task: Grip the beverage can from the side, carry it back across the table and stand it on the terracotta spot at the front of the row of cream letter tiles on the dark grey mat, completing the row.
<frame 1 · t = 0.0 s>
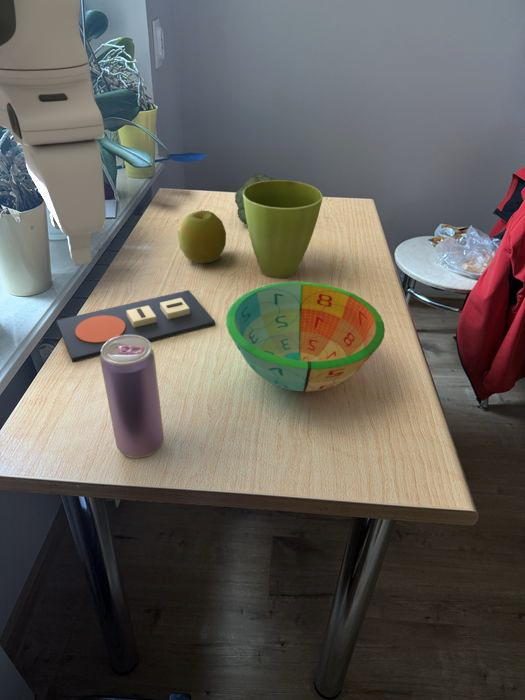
hand: (71, 242, 55), 26 cm above the table, tool pointing down, fingers open, 8 cm apart
bowl: (300, 375, 81), on the table
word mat: (136, 324, 90), on the table
flower pot: (278, 271, 108), on the table
apple: (203, 260, 111), on the table
vegetable: (258, 222, 128), on the table
beverage can: (140, 444, 68), on the table
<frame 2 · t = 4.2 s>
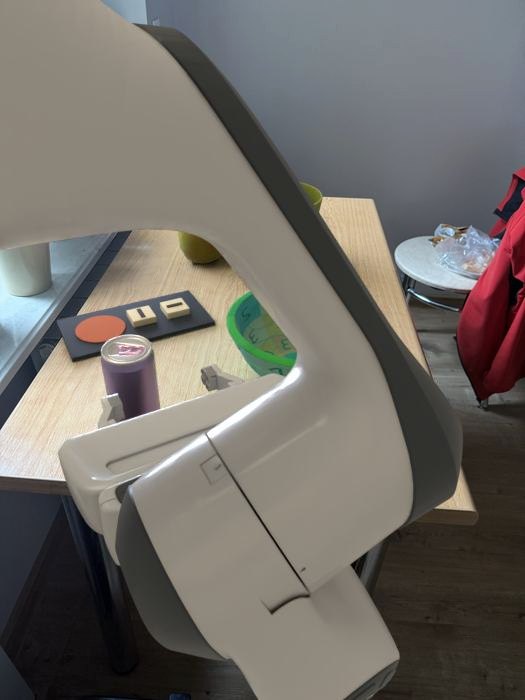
hand: (160, 385, 49), 19 cm above the table, tool horizontal, fingers open, 8 cm apart
nothing on the table moved.
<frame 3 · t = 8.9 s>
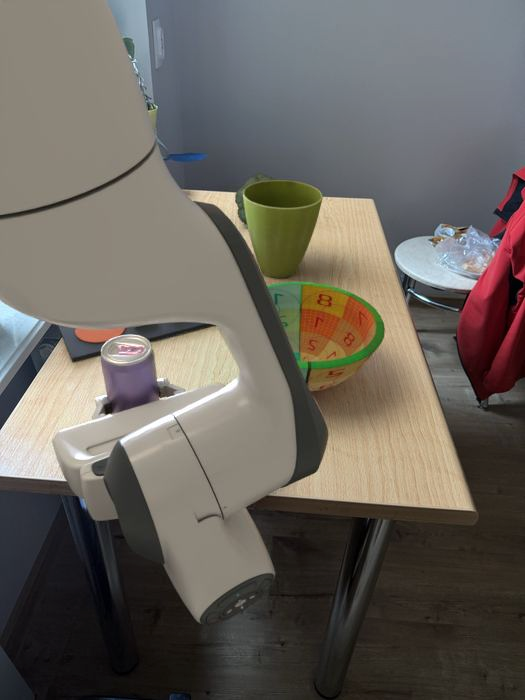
hand: (131, 391, 64), 8 cm above the table, tool horizontal, fingers closed on beverage can, 6 cm apart
beverage can: (140, 443, 68), on the table, touching gripper
everything else where it was.
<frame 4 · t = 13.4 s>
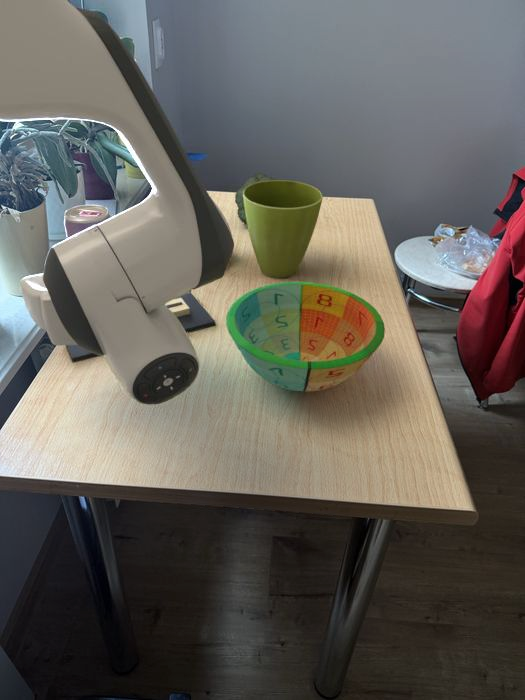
hand: (93, 259, 73), 17 cm above the table, tool horizontal, fingers closed on beverage can, 6 cm apart
beverage can: (104, 313, 77), point 9 cm above the table, touching gripper
everything else where it was.
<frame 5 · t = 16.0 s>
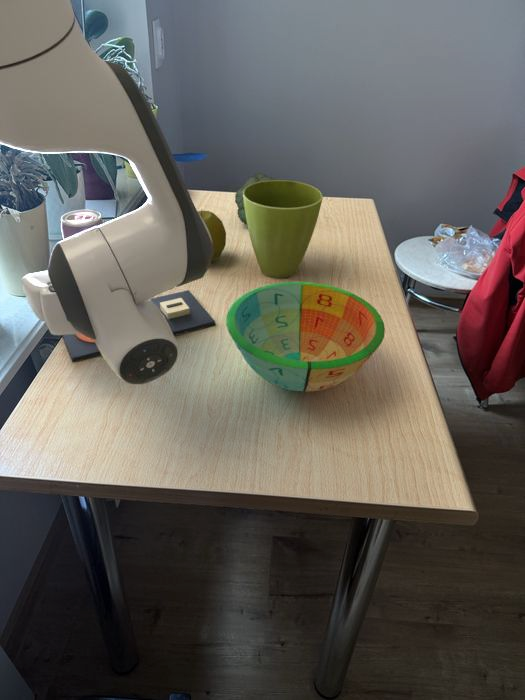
hand: (87, 258, 81), 13 cm above the table, tool horizontal, fingers closed on beverage can, 6 cm apart
beverage can: (97, 307, 85), point 5 cm above the table, touching gripper
everything else where it was.
when the fingers open (9 cm above the table, at t = 18.0 s): beverage can stays where it is, resting on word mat.
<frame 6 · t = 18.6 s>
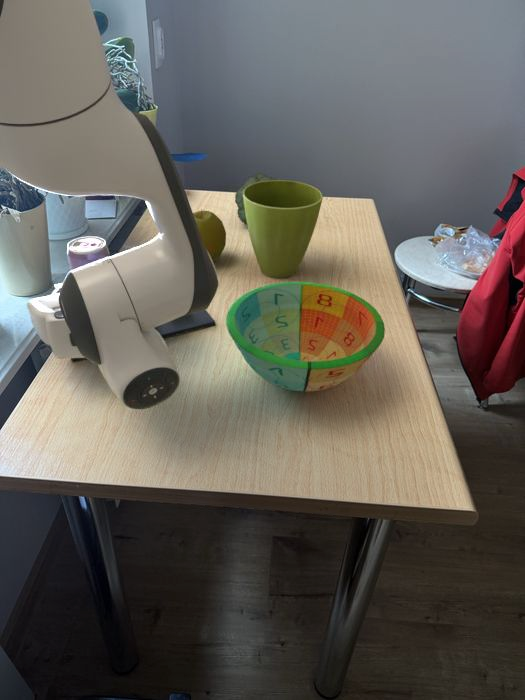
hand: (90, 281, 83), 9 cm above the table, tool horizontal, fingers open, 8 cm apart
beverage can: (101, 329, 87), point 1 cm above the table, touching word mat
everything else where it was.
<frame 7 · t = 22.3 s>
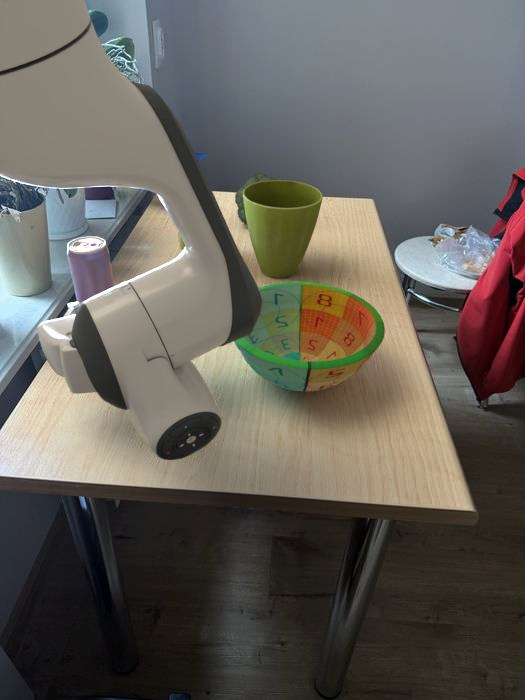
hand: (108, 299, 72), 13 cm above the table, tool horizontal, fingers open, 8 cm apart
nothing on the table moved.
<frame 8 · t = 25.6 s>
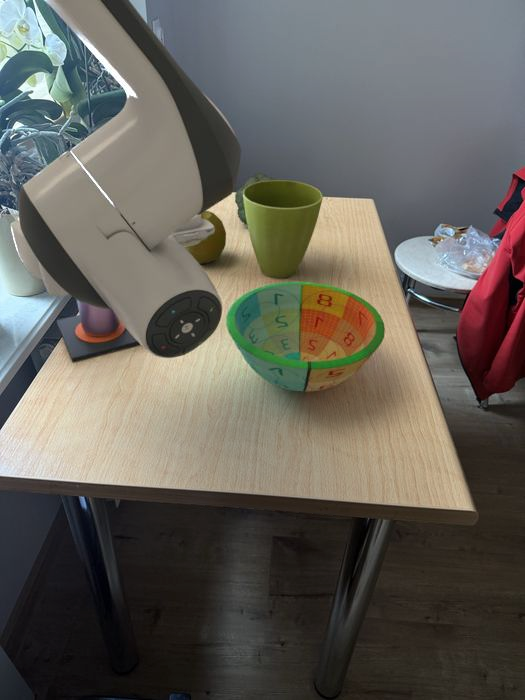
hand: (95, 206, 64), 26 cm above the table, tool horizontal, fingers open, 8 cm apart
nothing on the table moved.
at the end: beverage can 0.2 cm from the target spot on the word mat, point 0.8 cm above the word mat's base; beverage can tilted 0°; the gripper is holding nothing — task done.
